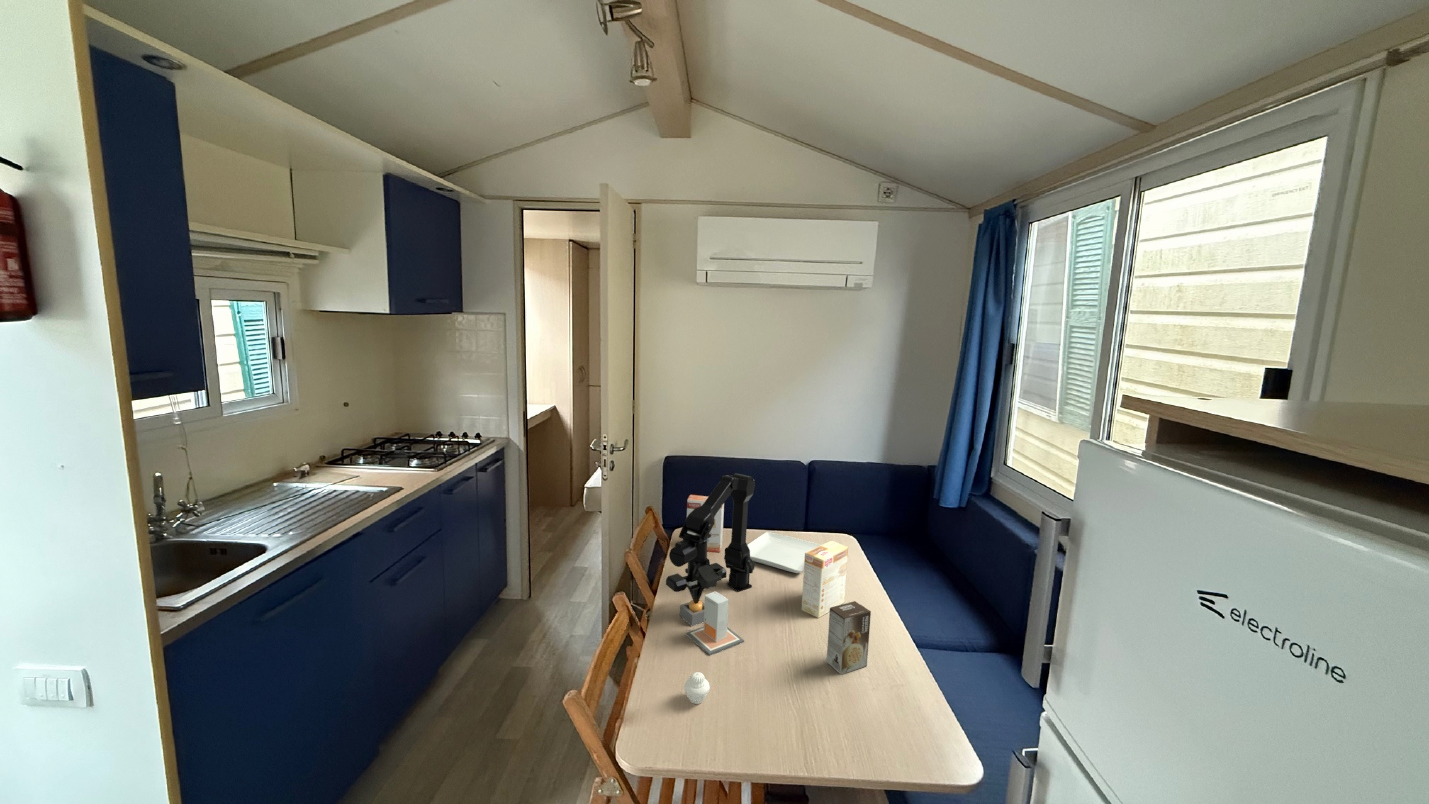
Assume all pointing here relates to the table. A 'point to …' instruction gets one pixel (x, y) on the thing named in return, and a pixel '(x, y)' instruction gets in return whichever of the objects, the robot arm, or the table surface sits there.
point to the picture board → (710, 644)
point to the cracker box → (717, 530)
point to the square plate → (780, 551)
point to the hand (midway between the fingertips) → (695, 602)
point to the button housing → (692, 614)
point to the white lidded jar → (696, 688)
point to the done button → (695, 606)
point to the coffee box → (848, 637)
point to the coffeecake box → (824, 578)
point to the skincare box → (715, 616)
